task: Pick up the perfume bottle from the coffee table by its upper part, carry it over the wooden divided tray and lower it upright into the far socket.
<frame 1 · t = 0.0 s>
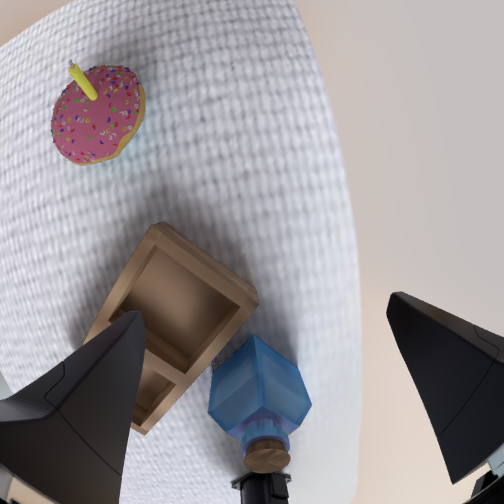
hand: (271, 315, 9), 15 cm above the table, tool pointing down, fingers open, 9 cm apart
cupcake: (116, 126, 22), on the table
wooden divided tray: (153, 334, 25), on the table
perfume bottle: (255, 370, 27), on the table
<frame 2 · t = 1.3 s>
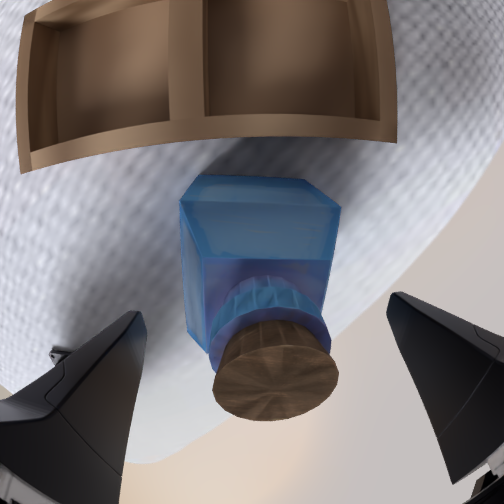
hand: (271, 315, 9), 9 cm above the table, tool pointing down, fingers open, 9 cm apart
wooden divided tray: (196, 56, 13), on the table
perfume bottle: (249, 225, 17), on the table
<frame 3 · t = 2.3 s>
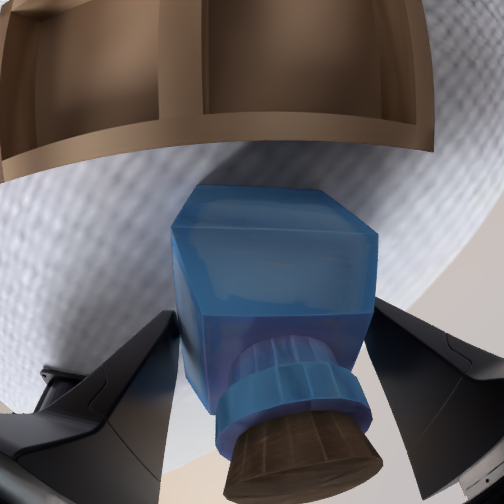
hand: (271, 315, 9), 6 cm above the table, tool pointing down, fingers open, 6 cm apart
wooden divided tray: (194, 45, 10), on the table
perfume bottle: (256, 243, 15), on the table, touching gripper
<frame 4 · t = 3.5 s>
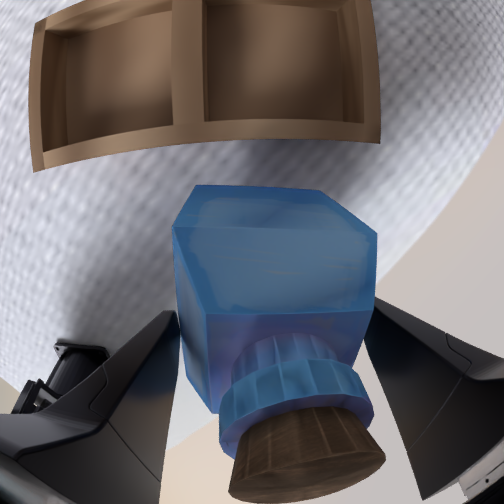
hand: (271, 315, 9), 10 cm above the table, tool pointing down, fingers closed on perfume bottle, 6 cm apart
wooden divided tray: (196, 65, 14), on the table
perfume bottle: (255, 243, 15), point 4 cm above the table, touching gripper
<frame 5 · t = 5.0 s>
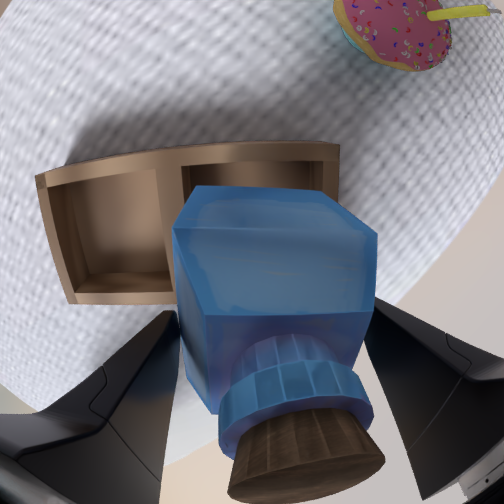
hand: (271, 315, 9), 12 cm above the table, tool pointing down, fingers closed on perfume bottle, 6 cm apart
cupcake: (366, 31, 15), on the table
wooden divided tray: (185, 214, 20), on the table
perfume bottle: (255, 244, 15), point 6 cm above the table, touching gripper
when the fingers open (8 cm above the table, at t = 6.6 s): perfume bottle stays where it is, resting on wooden divided tray.
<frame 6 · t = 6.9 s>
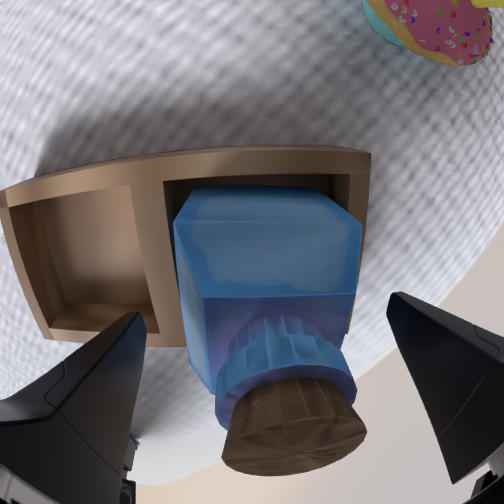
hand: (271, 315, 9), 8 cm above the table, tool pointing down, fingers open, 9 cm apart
cupcake: (391, 17, 11), on the table
wooden divided tray: (174, 236, 16), on the table
perfume bottle: (254, 238, 16), point 1 cm above the table, touching wooden divided tray
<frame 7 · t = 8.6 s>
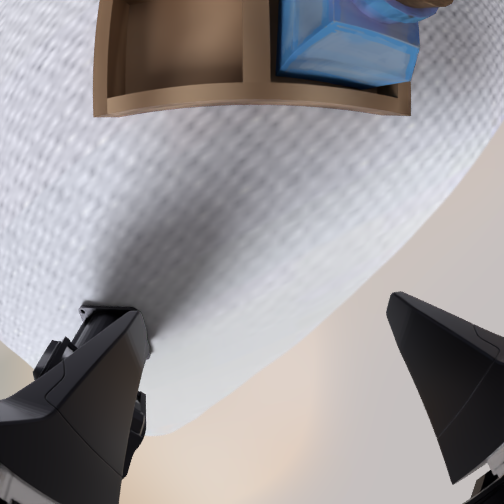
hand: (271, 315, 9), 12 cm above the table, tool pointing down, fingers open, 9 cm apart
wooden divided tray: (252, 40, 15), on the table
perfume bottle: (321, 43, 15), point 1 cm above the table, touching wooden divided tray
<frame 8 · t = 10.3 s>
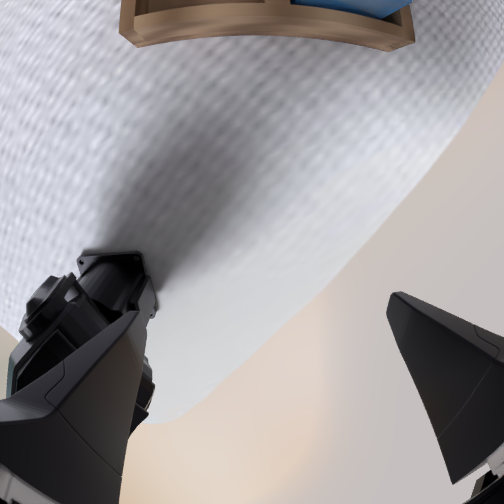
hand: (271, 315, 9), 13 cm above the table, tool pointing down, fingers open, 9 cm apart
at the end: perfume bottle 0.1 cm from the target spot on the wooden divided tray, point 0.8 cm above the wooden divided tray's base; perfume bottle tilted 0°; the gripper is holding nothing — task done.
